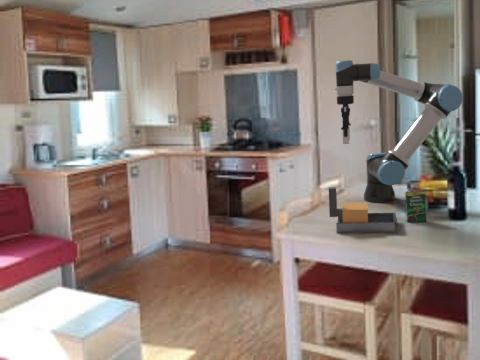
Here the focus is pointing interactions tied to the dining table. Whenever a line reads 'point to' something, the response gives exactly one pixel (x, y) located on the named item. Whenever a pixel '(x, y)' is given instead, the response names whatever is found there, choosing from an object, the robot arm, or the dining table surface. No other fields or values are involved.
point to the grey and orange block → (348, 209)
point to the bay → (370, 224)
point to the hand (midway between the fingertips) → (346, 141)
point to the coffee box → (415, 206)
